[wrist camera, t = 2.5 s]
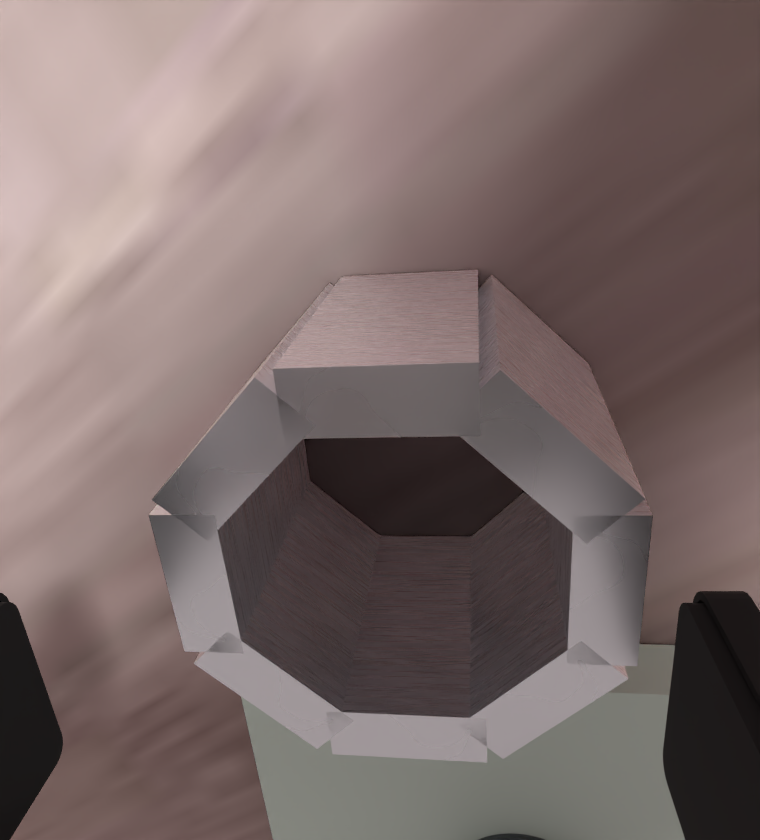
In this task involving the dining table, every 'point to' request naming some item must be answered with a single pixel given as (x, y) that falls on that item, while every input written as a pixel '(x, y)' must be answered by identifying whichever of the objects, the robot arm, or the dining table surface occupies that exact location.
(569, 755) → the green board
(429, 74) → the dining table surface
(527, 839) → the steel post
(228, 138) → the dining table surface
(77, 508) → the dining table surface
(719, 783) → the robot arm
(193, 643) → the metal ring
